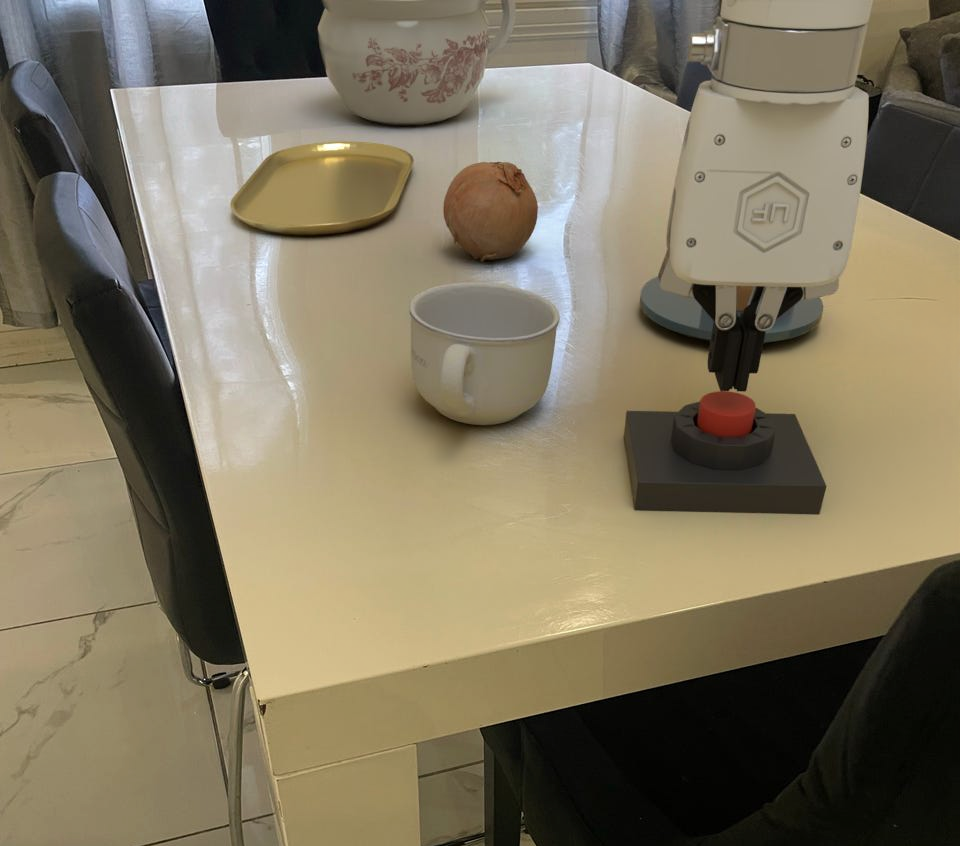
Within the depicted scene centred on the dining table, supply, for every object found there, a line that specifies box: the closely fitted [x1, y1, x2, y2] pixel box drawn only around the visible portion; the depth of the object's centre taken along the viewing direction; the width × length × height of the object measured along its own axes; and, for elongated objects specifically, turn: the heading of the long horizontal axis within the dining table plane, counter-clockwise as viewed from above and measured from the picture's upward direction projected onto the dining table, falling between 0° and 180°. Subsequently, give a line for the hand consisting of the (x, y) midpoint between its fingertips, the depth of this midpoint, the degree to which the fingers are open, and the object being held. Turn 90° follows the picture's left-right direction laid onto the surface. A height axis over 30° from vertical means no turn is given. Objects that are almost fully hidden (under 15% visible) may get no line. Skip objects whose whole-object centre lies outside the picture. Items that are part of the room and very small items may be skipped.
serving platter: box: [230, 141, 415, 236], centre depth 120 cm, size 19×35×2 cm, turn 177°
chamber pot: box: [317, 0, 517, 126], centre depth 145 cm, size 28×28×21 cm
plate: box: [639, 275, 824, 343], centre depth 88 cm, size 16×16×6 cm
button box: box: [623, 401, 827, 516], centre depth 68 cm, size 12×10×4 cm
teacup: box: [408, 281, 561, 426], centre depth 74 cm, size 14×11×8 cm
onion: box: [442, 161, 539, 263], centre depth 101 cm, size 10×9×10 cm
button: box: [697, 390, 757, 437], centre depth 67 cm, size 4×4×2 cm
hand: (729, 381), depth 65 cm, fingers closed
